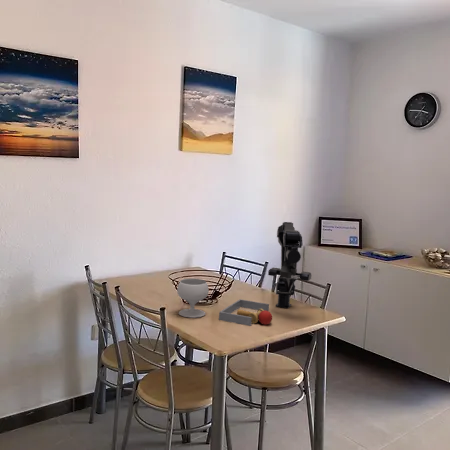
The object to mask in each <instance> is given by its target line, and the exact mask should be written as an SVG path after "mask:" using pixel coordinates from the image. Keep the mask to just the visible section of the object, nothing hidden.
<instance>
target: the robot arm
mask: <svg viewBox="0 0 450 450" xmlns="http://www.w3.org/2000/svg"><path fill="white" fill-rule="evenodd" d="M276 238H277V242H278V243H279V245H280V246H281V247H280V268H279V267H278V268H277V267H271V268H269V270H268V274H267V275H268V276H269V277H270V276H271V277H276V275H279V277H278V279H277V281H276V284H275V290H274V291H275V292H274V293H275V294H276V295H278V296H277V303H276V304H275V307H276V308H282V309H283V308H284V309H289V308H290V307H292V305H293V304H292V303H291V302H290V301H291V296H294V295H295V290H296V284H295V282H296V281H298V280H299V279H300V280H301V281H306V282H309V281H310V280H311V279H312V273H311V272H308V271H301V272H298V269H297V266H298V263H299V262H300V260H301V258H302V257H301V256H302V255H301V253H300V252H299V249H302V246H303V236H302V234H301V232H300V231H299V230H296V229H295V227H294V222H292V221H291V222H289V221H283V222H282V224H281V225H279V226H278V227H277V231H276Z"/></svg>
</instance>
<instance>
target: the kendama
mask: <svg viewBox="0 0 450 450" xmlns="http://www.w3.org/2000/svg"><path fill="white" fill-rule="evenodd" d="M256 311H257V312H254V311H247V310H243V309H240V308H238V309H237V310H236V315H241V316H247V317H252V322H251V324H256V323H258V322H259V323H260V324H261V325H264V326H265V325H270V324H271V322H272V321H273V315H272V313H271V311H266V310H265V311H264V310H263V309H259V310H256Z"/></svg>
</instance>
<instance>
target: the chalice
mask: <svg viewBox="0 0 450 450" xmlns="http://www.w3.org/2000/svg"><path fill="white" fill-rule="evenodd" d="M176 292H177V295H178V296H179V298H180V299H182V300H184V301H185V302H187V303H188V304H189V308H185V309H180V311H178V315H180V316H181V317H185V318H192V319H194V318H201V317H203V316H206V312H205V311H204V310H201V309H197V308H195V306H196V304H197V303H199V302H200V301H203V300H204V299H206V298H207V297H208V295H209V293H210V291H209V284H208V283H207V281H206V280H205V279H200V278H190V277H189V278H183V279H181V280H179V283H178V285H177V290H176Z"/></svg>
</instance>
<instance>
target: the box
mask: <svg viewBox="0 0 450 450" xmlns="http://www.w3.org/2000/svg"><path fill="white" fill-rule="evenodd" d="M240 308H243V309H251V310H255V311H258V310H259V309H263V310H264V311H265V310H266V311H269V309H270V303H264V302H258V301H253V300H247V299H242V298H240V299H237V300H236V301H235V302H233V303H231V304H230V305H228V306H226V307H225V308H223V309H222V310H220V311H219V312H218V320H219V321H224V322H229V323H234V324H237V325H238V324H239V325H243V326H249V327H251V326H252V317H247V316H241V315H237V313H236V314H235V313H234V312H235V311H238V310H239V309H240ZM269 312H270V311H269Z"/></svg>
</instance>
